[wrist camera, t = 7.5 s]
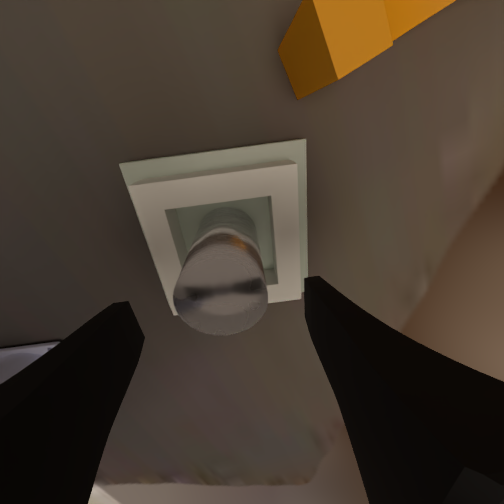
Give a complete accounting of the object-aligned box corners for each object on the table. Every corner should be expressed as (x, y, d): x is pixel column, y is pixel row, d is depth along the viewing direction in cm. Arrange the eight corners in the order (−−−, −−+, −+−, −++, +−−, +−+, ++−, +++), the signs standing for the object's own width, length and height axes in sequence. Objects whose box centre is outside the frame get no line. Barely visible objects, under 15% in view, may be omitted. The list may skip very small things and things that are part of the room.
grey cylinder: (206, 264, 17) (188, 341, 11) (190, 212, 15) (159, 269, 9) (260, 255, 17) (273, 328, 11) (251, 201, 15) (261, 252, 9)
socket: (173, 301, 20) (163, 327, 17) (125, 161, 15) (101, 168, 12) (304, 284, 20) (315, 308, 17) (302, 138, 15) (316, 140, 12)
